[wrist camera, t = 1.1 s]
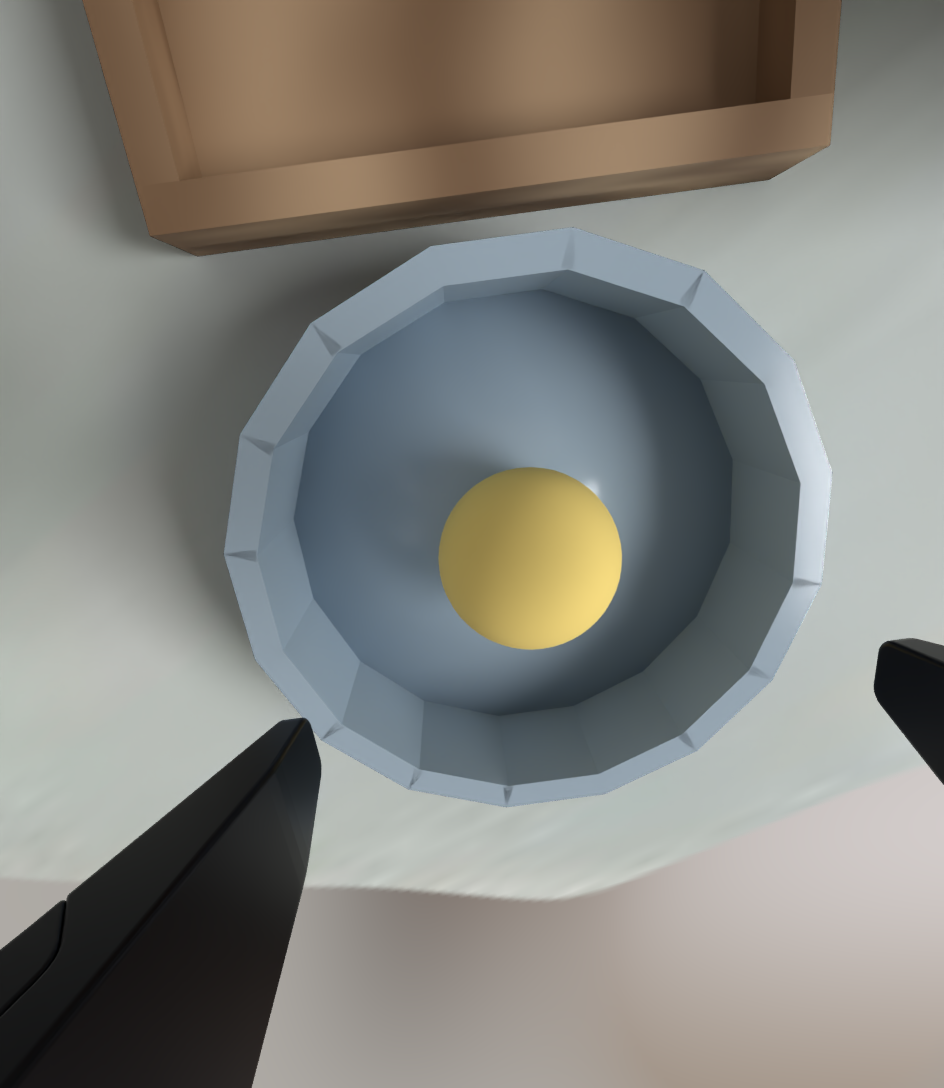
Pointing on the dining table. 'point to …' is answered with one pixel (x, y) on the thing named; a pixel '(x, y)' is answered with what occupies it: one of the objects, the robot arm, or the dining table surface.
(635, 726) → the bowl
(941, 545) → the dining table surface
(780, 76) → the tray
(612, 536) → the ball
